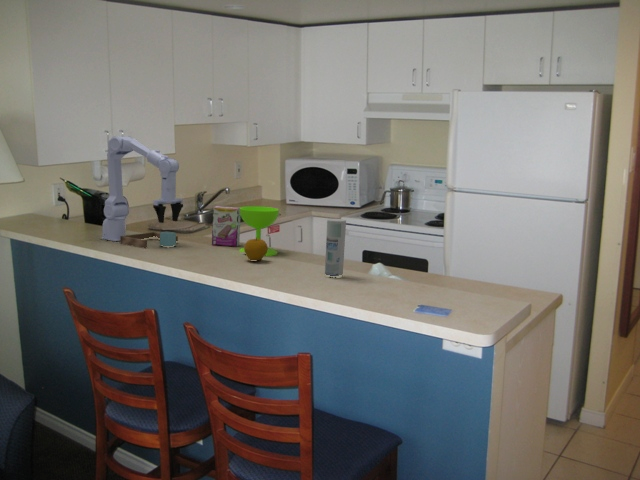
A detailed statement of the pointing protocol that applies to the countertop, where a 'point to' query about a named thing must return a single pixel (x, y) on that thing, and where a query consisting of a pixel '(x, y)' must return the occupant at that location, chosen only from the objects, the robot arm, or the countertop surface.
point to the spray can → (335, 247)
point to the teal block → (167, 238)
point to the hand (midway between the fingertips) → (168, 221)
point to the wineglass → (259, 221)
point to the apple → (255, 249)
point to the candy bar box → (226, 226)
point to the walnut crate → (139, 239)
